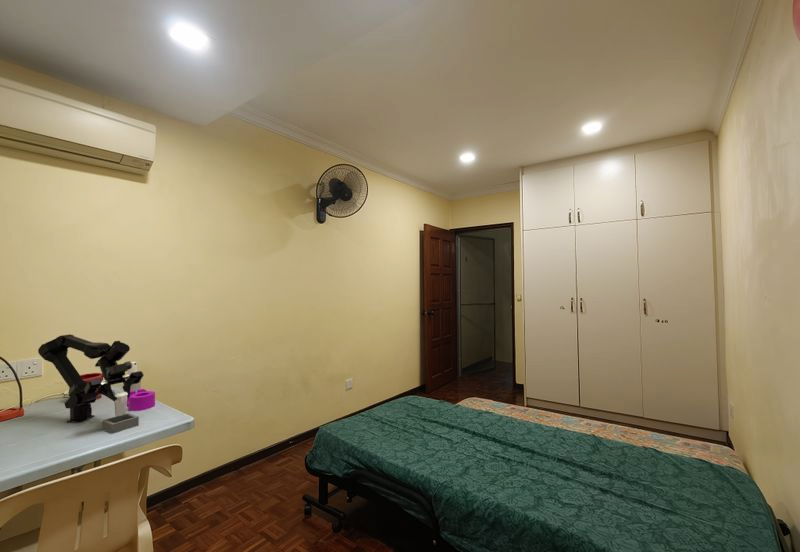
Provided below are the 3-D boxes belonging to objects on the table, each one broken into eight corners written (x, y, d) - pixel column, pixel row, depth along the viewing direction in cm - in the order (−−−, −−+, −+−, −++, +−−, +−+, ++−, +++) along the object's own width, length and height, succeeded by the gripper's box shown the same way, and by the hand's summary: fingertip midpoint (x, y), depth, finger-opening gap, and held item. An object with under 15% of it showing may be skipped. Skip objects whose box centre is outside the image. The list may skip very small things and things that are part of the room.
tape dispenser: (157, 407, 166) (157, 393, 166) (132, 413, 159) (132, 399, 159) (147, 400, 176) (147, 387, 177) (123, 405, 169) (123, 392, 169)
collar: (101, 429, 141) (101, 420, 141) (127, 421, 149) (127, 412, 149) (112, 433, 136) (112, 424, 136) (138, 425, 144) (138, 416, 144)
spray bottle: (131, 399, 177) (131, 363, 177) (120, 398, 178) (120, 363, 178) (143, 395, 183) (144, 361, 184) (133, 394, 185) (133, 360, 185)
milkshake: (116, 412, 144) (117, 388, 145) (130, 412, 145) (130, 388, 145) (108, 417, 140) (108, 392, 140) (122, 416, 140) (123, 391, 141)
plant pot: (82, 395, 183) (82, 373, 183) (109, 394, 185) (109, 372, 185) (61, 404, 170) (61, 379, 170) (90, 403, 172) (90, 378, 172)
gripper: (88, 360, 137) (100, 393, 131) (141, 352, 153) (154, 381, 148) (79, 377, 140) (90, 410, 135) (132, 368, 157) (144, 396, 151)
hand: (122, 398), depth 142 cm, fingers closed on milkshake, 4 cm apart
